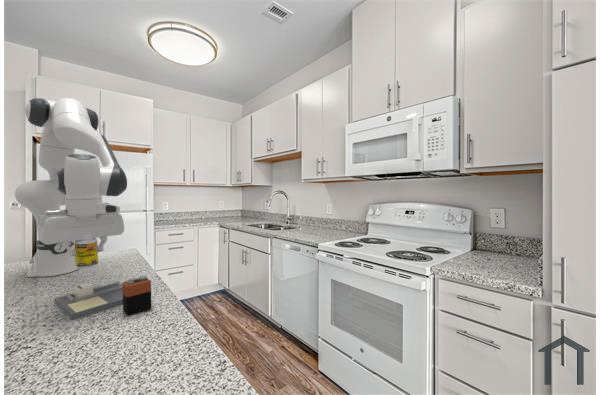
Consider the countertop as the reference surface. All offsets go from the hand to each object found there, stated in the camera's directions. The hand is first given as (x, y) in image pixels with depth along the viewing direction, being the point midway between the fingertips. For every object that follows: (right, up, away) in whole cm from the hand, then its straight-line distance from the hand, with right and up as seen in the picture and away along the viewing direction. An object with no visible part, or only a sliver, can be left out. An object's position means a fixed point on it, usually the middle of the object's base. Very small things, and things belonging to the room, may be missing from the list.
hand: (86, 253), depth 86 cm
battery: (+15, -18, +1) cm, 23 cm away
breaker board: (-1, -17, +7) cm, 18 cm away
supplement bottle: (0, -4, 0) cm, 4 cm away
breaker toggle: (-5, -15, +6) cm, 17 cm away
